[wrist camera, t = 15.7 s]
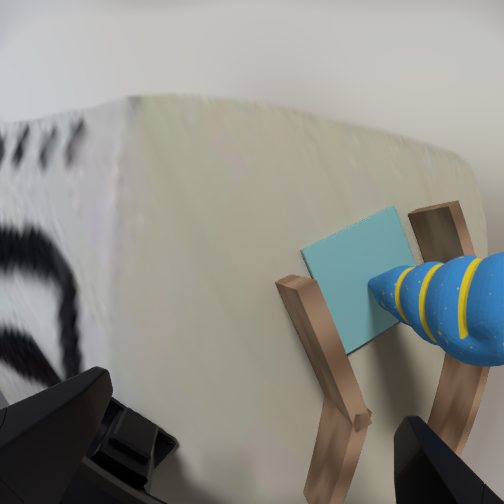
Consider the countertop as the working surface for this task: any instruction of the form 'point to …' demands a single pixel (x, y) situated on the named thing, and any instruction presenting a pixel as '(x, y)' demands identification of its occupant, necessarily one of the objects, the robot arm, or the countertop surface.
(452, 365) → the channel
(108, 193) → the countertop surface
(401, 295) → the ornament
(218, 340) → the countertop surface
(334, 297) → the pad
